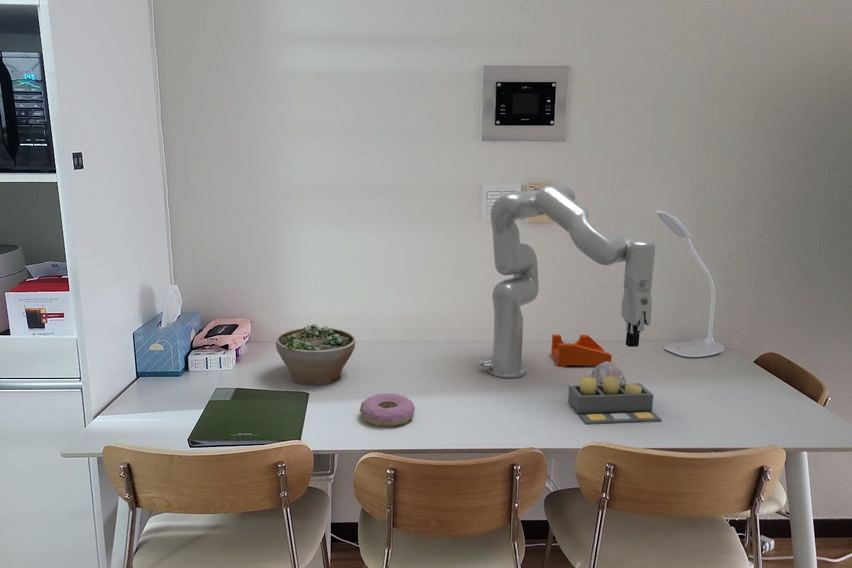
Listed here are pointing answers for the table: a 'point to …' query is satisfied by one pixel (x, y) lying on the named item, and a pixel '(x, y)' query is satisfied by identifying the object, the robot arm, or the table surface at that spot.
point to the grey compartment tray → (610, 401)
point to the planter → (315, 354)
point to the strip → (619, 418)
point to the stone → (607, 372)
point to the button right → (633, 389)
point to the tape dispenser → (578, 352)
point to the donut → (387, 410)
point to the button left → (588, 385)
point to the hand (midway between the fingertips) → (631, 345)
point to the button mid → (610, 385)
